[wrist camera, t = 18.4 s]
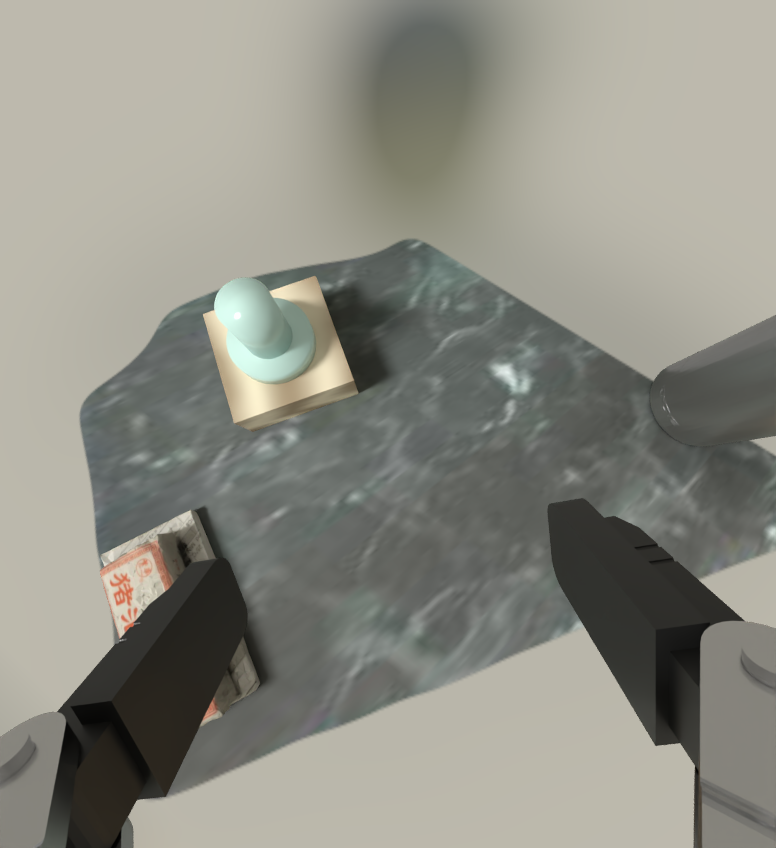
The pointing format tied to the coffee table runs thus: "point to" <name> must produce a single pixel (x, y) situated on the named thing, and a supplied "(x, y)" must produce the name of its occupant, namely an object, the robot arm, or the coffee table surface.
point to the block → (305, 393)
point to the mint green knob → (264, 332)
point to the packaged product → (154, 574)
